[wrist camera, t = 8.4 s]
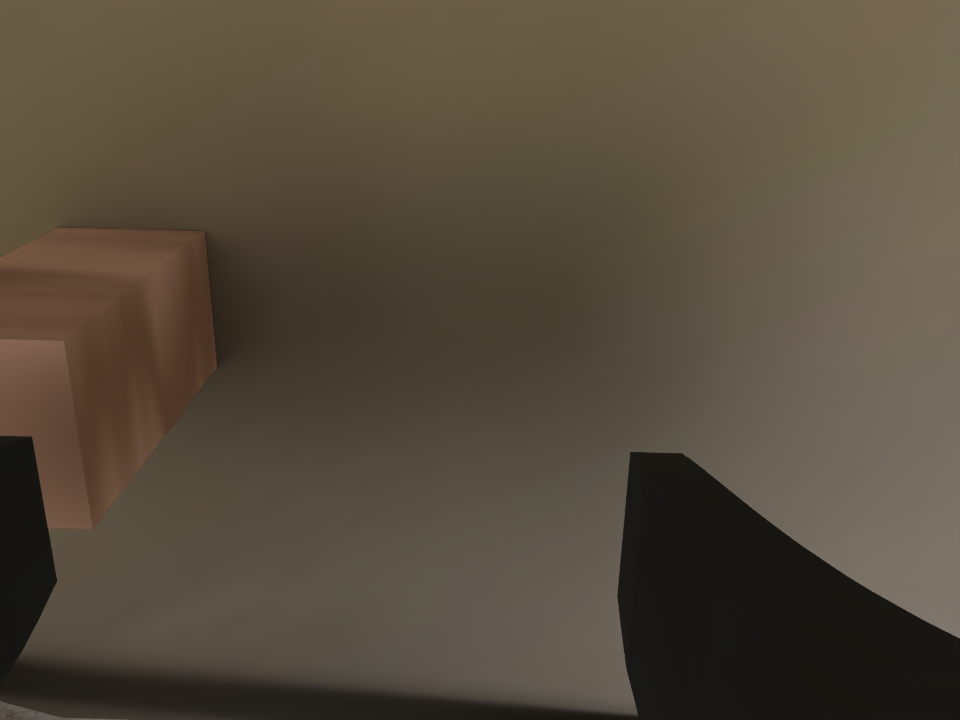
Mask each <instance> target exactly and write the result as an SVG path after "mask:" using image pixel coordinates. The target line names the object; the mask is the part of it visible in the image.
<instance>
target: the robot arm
mask: <svg viewBox="0 0 960 720" xmlns="http://www.w3.org/2000/svg"><path fill="white" fill-rule="evenodd" d="M56 582H57V578H56V572H55V566H54V561H53V555H52V549H51V543H50V538H49V532H48V526H47V520H46V514H45V509H44V503H43V497H42V491H41V485H40V480H39V474H38V468H37V462H36V456H35V451H34V445H33V439H32V437H31V436H0V683H1V681H2V680H3V678H4V677H5V676H6V674H7V673H8V671H9V670H10V668H11V667H12V665H13V664H14V662H15V661H16V659H17V658H18V656H19V655H20V653H21V652H22V650H23V648H24V646H25V644H26V642H27V641H28V639H29V637H30V635H31V633H32V631H33V629H34V627H35V625H36V624H37V622H38V620H39V618H40V616H41V613H42V611H43V609H44V607H45V605H46V603H47V601H48V599H49V597H50V595H51V592H52V590H53V588H54V586H55V584H56ZM618 604H619V613H620V622H621V630H622V638H623V646H624V653H625V661H626V668H627V672H628V676H629V680H630V684H631V688H632V692H633V696H634V700H635V704H636V708H637V711H638V715H639V719H640V720H960V639H959V638H957V637H955V636H953V635H951V634H949V633H947V632H945V631H943V630H941V629H939V628H937V627H935V626H933V625H931V624H930V623H928V622H926V621H924V620H922V619H920V618H918V617H917V616H915V615H913V614H911V613H909V612H908V611H906V610H904V609H902V608H900V607H899V606H897V605H895V604H893V603H892V602H890V601H888V600H886V599H884V598H883V597H881V596H879V595H877V594H875V593H874V592H872V591H870V590H869V589H867V588H865V587H864V586H862V585H860V584H859V583H857V582H855V581H854V580H852V579H851V578H849V577H847V576H846V575H844V574H843V573H841V572H840V571H838V570H837V569H835V568H834V567H832V566H831V565H829V564H828V563H826V562H825V561H823V560H822V559H820V558H819V557H817V556H816V555H815V554H813V553H812V552H810V551H809V550H807V549H806V548H804V547H803V546H801V545H800V544H799V543H797V542H796V541H794V540H793V539H792V538H790V537H789V536H788V535H786V534H785V533H783V532H782V531H781V530H779V529H778V528H777V527H775V526H774V525H773V524H771V523H770V522H769V521H767V520H766V519H765V518H764V517H762V516H761V515H760V514H758V513H757V512H756V511H755V510H753V509H752V508H751V507H749V506H748V505H747V504H746V503H744V502H743V501H742V500H741V499H739V498H738V497H737V496H736V495H734V494H733V493H732V492H731V491H730V490H728V489H727V488H726V487H725V486H723V485H722V484H721V483H720V482H718V481H717V480H716V479H715V478H713V477H712V476H711V475H710V474H709V473H707V472H706V471H705V470H704V469H702V468H701V467H700V466H698V465H697V464H696V463H695V462H693V461H692V460H691V459H689V458H688V457H686V456H685V455H683V454H681V453H643V452H630V463H629V474H628V485H627V496H626V507H625V518H624V530H623V541H622V552H621V563H620V574H619V585H618Z"/></svg>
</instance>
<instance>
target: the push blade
mask: <svg viewBox="0 0 960 720" xmlns="http://www.w3.org/2000/svg"><path fill="white" fill-rule="evenodd" d="M216 368H217V360H216V348H215V337H214V326H213V315H212V304H211V292H210V281H209V270H208V259H207V247H206V236H205V231H188V230H147V229H106V228H65V227H58V228H56V229H54V230H52V231H51V232H49V233H47V234H45V235H43V236H41V237H39V238H37V239H35V240H33V241H31V242H29V243H27V244H25V245H23V246H21V247H19V248H17V249H15V250H13V251H11V252H9V253H7V254H5V255H3V256H2V257H0V436H31V437H32V439H33V445H34V451H35V456H36V462H37V468H38V474H39V480H40V485H41V491H42V497H43V503H44V509H45V514H46V520H47V526H48V528H52V529H90V530H93V529H94V527H95V526H96V525H97V523H98V522H99V521H100V519H101V518H102V517H103V516H104V514H105V513H106V512H107V510H108V509H109V508H110V506H111V505H112V504H113V502H114V501H115V500H116V499H117V497H118V496H119V495H120V493H121V492H122V491H123V489H124V488H125V487H126V486H127V484H128V483H129V482H130V480H131V479H132V478H133V476H134V475H135V474H136V473H137V471H138V470H139V469H140V467H141V466H142V465H143V463H144V462H145V461H146V459H147V458H148V457H149V456H150V454H151V453H152V452H153V450H154V449H155V448H156V446H157V445H158V444H159V443H160V441H161V440H162V439H163V437H164V436H165V435H166V433H167V432H168V431H169V430H170V428H171V427H172V426H173V424H174V423H175V422H176V420H177V419H178V418H179V417H180V415H181V414H182V413H183V411H184V410H185V409H186V407H187V406H188V405H189V403H190V402H191V401H192V400H193V398H194V397H195V396H196V394H197V393H198V392H199V390H200V389H201V388H202V387H203V385H204V384H205V383H206V381H207V380H208V379H209V377H210V376H211V375H212V374H213V372H214V371H215V370H216Z"/></svg>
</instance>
